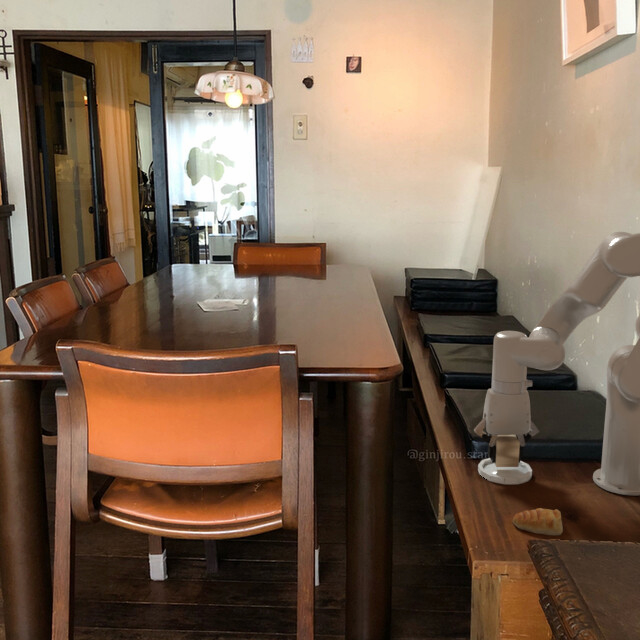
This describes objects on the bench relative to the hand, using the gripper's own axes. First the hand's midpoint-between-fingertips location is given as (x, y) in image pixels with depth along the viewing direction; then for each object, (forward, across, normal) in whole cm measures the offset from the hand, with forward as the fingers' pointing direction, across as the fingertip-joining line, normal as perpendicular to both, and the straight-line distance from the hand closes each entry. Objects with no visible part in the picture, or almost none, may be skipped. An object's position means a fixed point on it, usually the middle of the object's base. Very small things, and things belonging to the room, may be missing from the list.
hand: (504, 459), depth 161 cm
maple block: (+1, 0, 0) cm, 1 cm away
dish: (+3, 0, 0) cm, 3 cm away
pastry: (+4, -1, +25) cm, 25 cm away
